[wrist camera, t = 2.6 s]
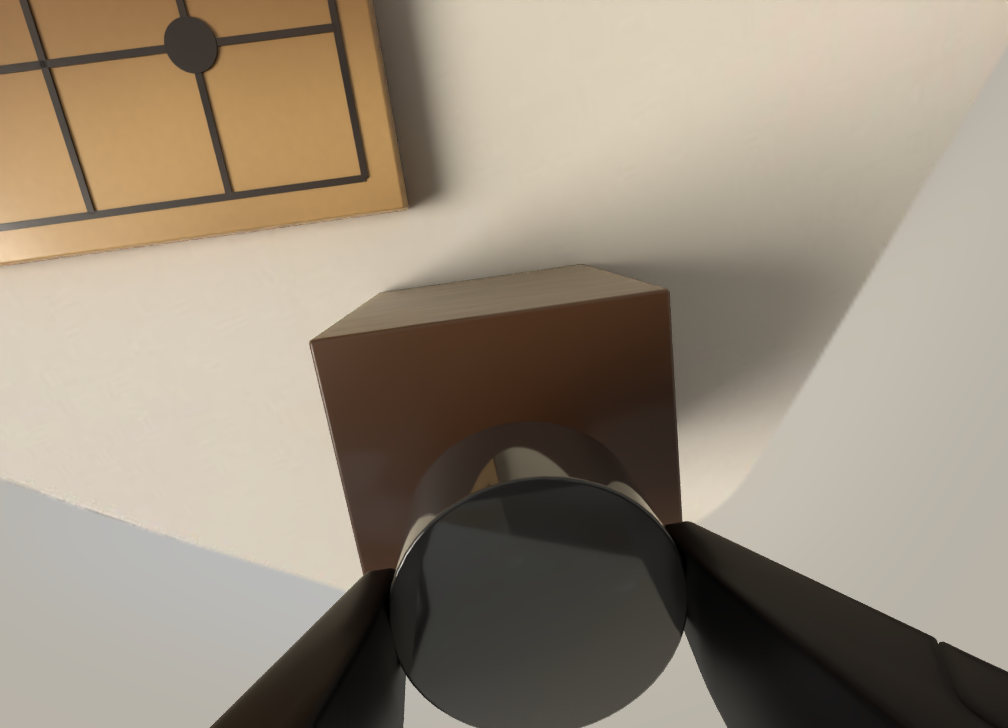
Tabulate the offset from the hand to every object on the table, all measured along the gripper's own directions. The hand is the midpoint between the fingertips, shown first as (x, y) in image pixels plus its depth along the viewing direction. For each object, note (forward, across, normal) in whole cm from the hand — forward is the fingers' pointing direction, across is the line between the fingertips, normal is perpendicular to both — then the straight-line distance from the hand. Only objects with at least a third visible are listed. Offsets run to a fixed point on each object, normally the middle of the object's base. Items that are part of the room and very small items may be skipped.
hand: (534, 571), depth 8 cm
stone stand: (+11, 0, 0) cm, 11 cm away
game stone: (+1, 0, 0) cm, 1 cm away
